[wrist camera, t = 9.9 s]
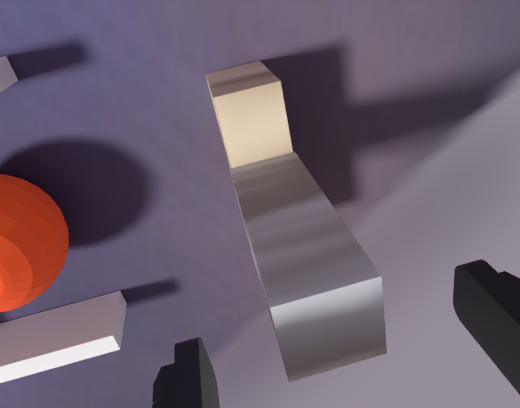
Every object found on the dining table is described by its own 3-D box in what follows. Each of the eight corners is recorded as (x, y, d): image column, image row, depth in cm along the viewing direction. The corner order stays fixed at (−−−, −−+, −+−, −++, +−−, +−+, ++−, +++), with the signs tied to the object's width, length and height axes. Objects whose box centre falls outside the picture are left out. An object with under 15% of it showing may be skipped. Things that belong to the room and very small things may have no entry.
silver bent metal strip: (203, 74, 22) (242, 201, 10) (261, 60, 22) (374, 166, 10) (244, 228, 27) (304, 443, 15) (291, 215, 27) (391, 417, 15)
